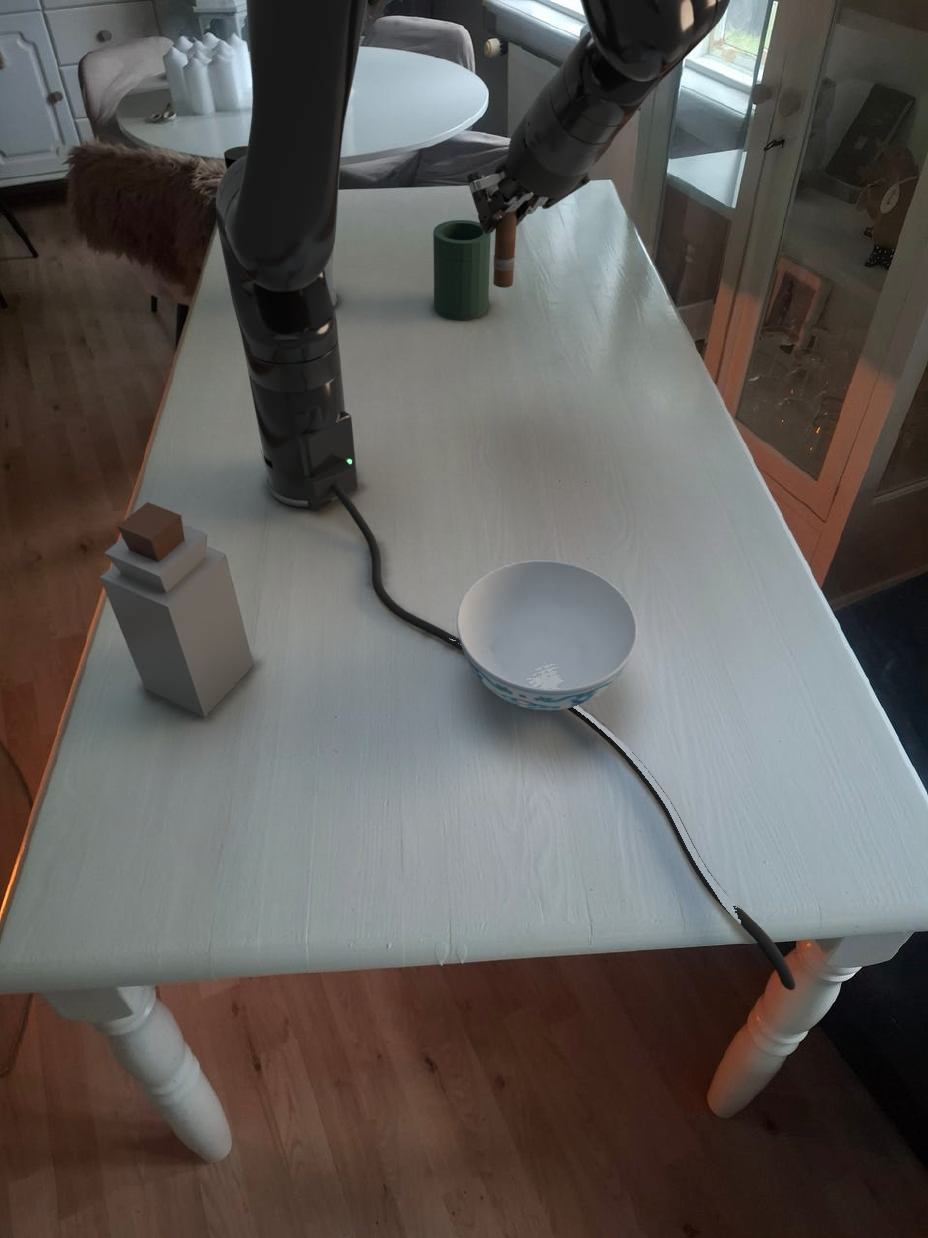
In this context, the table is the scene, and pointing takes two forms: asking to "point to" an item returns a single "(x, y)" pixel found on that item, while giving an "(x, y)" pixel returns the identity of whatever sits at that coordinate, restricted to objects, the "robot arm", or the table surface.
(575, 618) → the chinaware
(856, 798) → the table surface
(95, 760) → the table surface
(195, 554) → the perfume bottle
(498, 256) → the brown banded cylinder
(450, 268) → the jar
